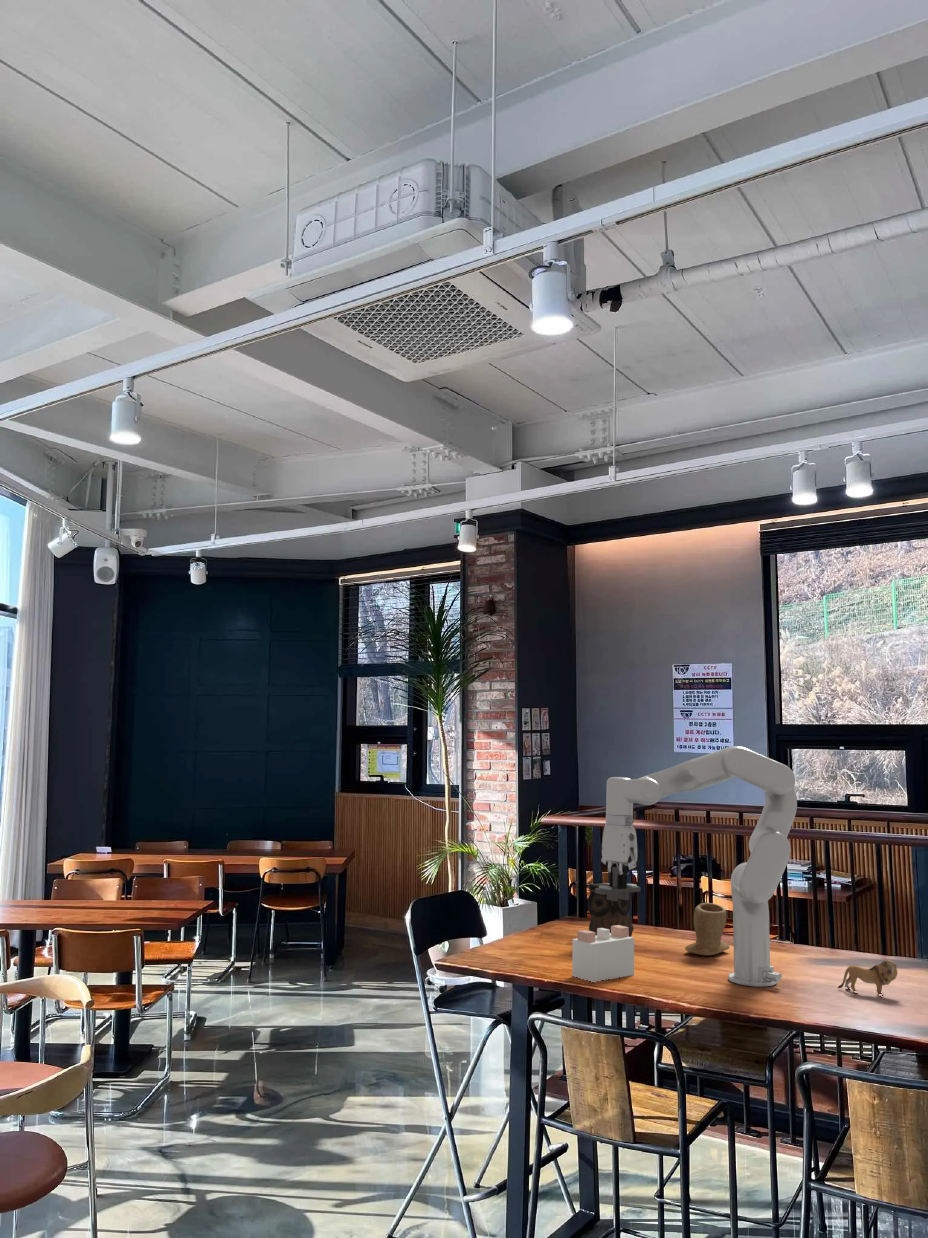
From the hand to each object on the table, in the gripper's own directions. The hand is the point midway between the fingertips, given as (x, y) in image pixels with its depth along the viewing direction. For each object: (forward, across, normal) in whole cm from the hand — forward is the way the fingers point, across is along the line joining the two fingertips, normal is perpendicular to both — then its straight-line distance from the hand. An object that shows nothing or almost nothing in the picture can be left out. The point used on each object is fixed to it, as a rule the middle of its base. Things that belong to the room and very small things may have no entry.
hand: (618, 887), depth 263 cm
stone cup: (+23, +4, -45) cm, 51 cm away
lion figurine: (+23, -50, -43) cm, 70 cm away
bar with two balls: (+3, 0, 0) cm, 3 cm away
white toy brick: (+24, +2, +3) cm, 24 cm away
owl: (+24, +30, -27) cm, 47 cm away
